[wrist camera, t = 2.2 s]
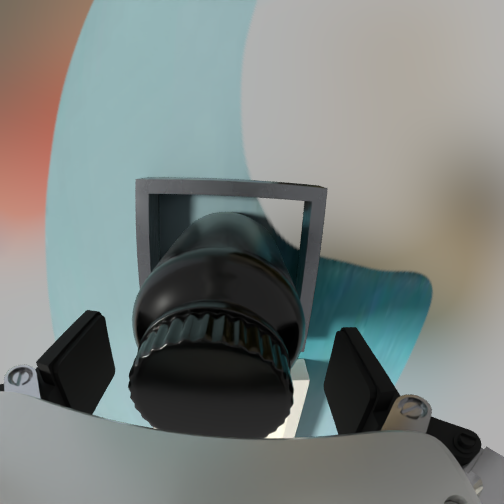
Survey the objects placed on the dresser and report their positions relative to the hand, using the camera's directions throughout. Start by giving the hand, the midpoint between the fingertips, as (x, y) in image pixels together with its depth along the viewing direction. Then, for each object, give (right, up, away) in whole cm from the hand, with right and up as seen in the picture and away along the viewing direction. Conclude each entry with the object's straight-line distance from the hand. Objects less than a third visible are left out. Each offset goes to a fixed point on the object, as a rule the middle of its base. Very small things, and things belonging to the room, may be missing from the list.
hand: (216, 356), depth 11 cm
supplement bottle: (0, +3, +8) cm, 9 cm away
